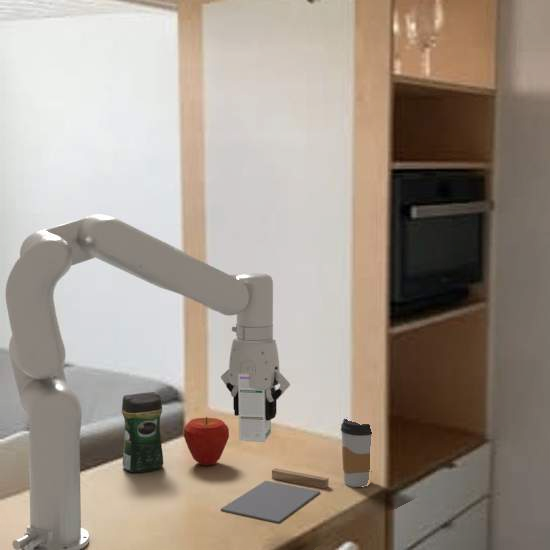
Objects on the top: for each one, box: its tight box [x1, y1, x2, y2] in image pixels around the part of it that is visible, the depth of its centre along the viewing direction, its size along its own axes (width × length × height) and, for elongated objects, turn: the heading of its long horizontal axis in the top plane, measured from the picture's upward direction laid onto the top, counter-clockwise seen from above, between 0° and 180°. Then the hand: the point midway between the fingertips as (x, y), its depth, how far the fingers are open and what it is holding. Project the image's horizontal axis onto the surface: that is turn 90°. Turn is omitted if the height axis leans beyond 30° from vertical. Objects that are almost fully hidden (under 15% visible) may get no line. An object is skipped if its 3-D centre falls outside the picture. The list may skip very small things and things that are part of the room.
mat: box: [220, 480, 321, 524], centre depth 194 cm, size 20×14×1 cm
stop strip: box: [271, 467, 330, 489], centre depth 206 cm, size 2×14×2 cm, turn 62°
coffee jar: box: [121, 391, 164, 474], centre depth 214 cm, size 10×8×19 cm
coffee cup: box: [340, 418, 372, 488], centre depth 205 cm, size 8×8×15 cm
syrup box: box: [238, 373, 272, 443], centre depth 185 cm, size 6×6×14 cm
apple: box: [183, 416, 230, 466], centre depth 217 cm, size 11×11×12 cm
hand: (254, 415), depth 185 cm, fingers closed on syrup box, 6 cm apart
